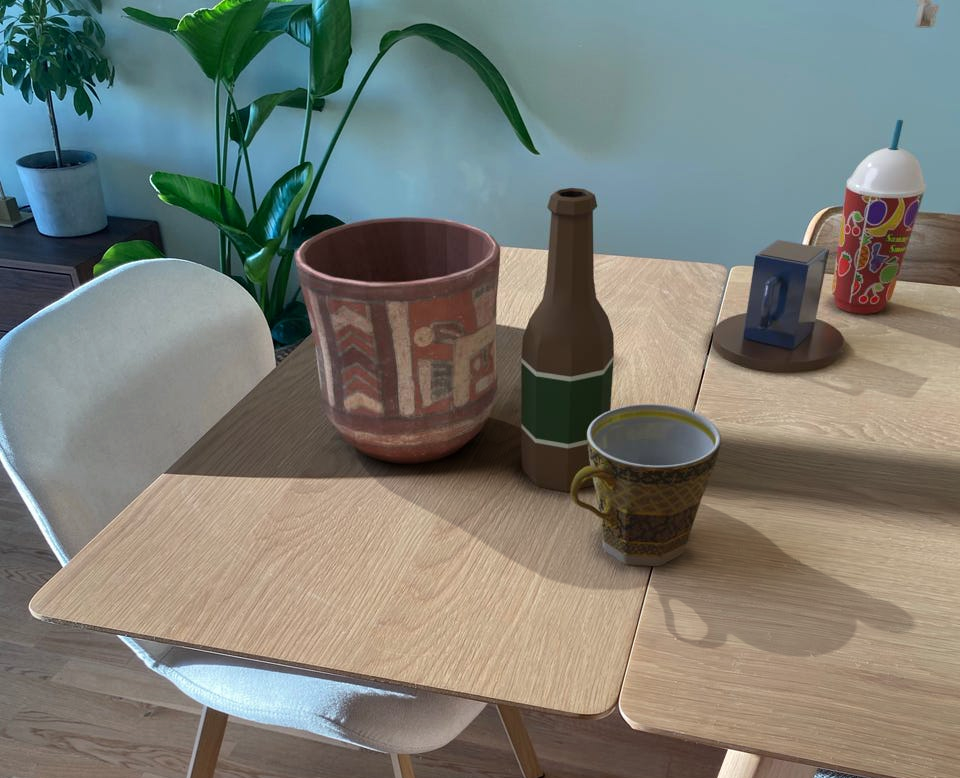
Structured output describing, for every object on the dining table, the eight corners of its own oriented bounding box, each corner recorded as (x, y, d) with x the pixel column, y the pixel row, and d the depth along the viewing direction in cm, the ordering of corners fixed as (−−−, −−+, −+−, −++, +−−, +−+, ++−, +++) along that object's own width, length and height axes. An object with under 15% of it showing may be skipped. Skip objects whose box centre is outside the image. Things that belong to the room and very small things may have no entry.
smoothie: (886, 323, 112) (933, 133, 99) (814, 311, 116) (850, 125, 103) (902, 299, 118) (948, 115, 105) (832, 288, 121) (869, 108, 108)
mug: (764, 320, 111) (777, 238, 105) (813, 331, 108) (829, 247, 102) (732, 346, 106) (744, 261, 100) (783, 358, 103) (798, 272, 97)
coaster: (859, 336, 110) (861, 326, 109) (815, 383, 101) (817, 372, 100) (742, 312, 116) (743, 302, 115) (691, 354, 107) (692, 344, 107)
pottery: (309, 484, 88) (276, 286, 77) (332, 397, 102) (308, 217, 90) (503, 480, 88) (501, 281, 76) (502, 393, 101) (499, 212, 90)
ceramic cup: (644, 498, 85) (654, 391, 79) (731, 548, 79) (749, 437, 72) (528, 552, 79) (529, 441, 73) (612, 611, 73) (620, 496, 67)
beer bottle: (560, 442, 93) (567, 172, 78) (624, 469, 89) (645, 190, 73) (503, 472, 89) (499, 194, 74) (567, 503, 85) (578, 215, 69)
